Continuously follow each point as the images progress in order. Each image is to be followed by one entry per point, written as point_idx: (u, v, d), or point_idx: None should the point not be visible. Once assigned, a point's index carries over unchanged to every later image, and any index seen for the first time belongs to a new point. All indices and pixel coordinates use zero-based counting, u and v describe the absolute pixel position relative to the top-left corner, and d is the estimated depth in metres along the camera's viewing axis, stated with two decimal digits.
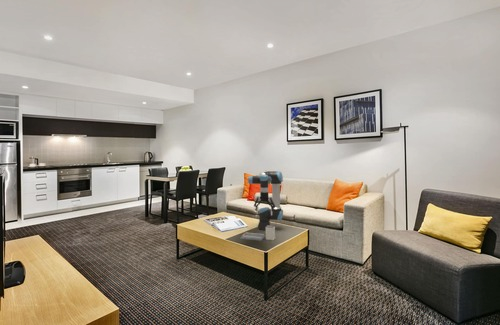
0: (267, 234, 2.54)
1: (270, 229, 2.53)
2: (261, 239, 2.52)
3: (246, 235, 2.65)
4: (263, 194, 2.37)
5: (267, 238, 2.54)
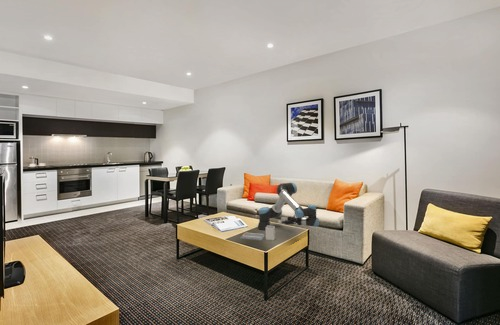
0: (267, 234, 2.54)
1: (270, 229, 2.53)
2: (261, 239, 2.52)
3: (246, 235, 2.65)
4: None
5: (267, 238, 2.54)
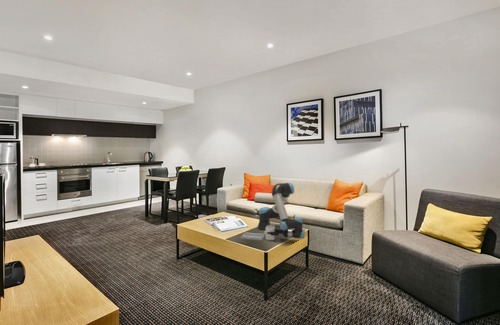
0: (267, 234, 2.54)
1: (270, 229, 2.53)
2: (261, 239, 2.52)
3: (246, 235, 2.65)
4: None
5: (267, 238, 2.54)
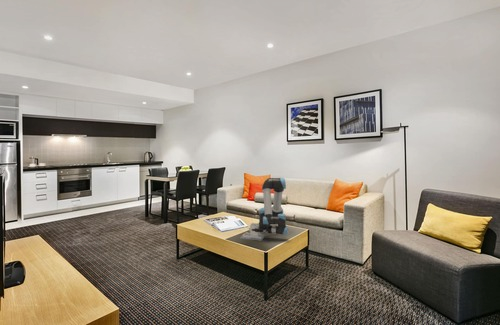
0: (251, 232, 2.59)
1: (254, 227, 2.57)
2: (261, 239, 2.52)
3: (246, 235, 2.65)
4: None
5: None
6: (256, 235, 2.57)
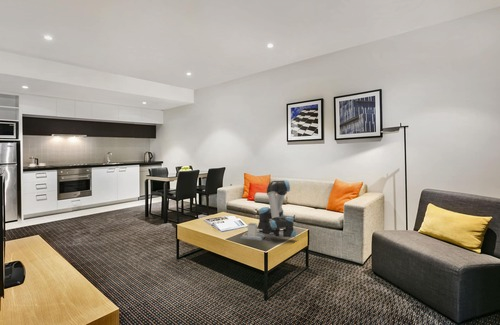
0: (249, 231, 2.59)
1: (252, 227, 2.58)
2: (261, 239, 2.52)
3: (246, 235, 2.65)
4: None
5: (249, 235, 2.59)
6: (254, 235, 2.58)
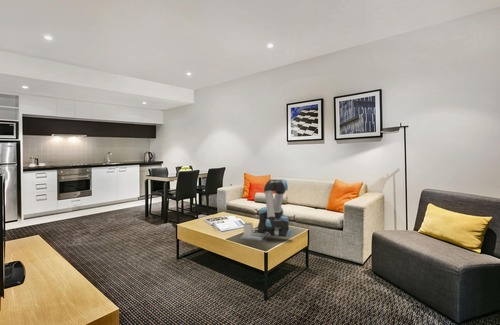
0: (245, 231, 2.61)
1: (248, 226, 2.60)
2: (261, 239, 2.52)
3: None
4: None
5: (245, 235, 2.61)
6: (249, 234, 2.59)
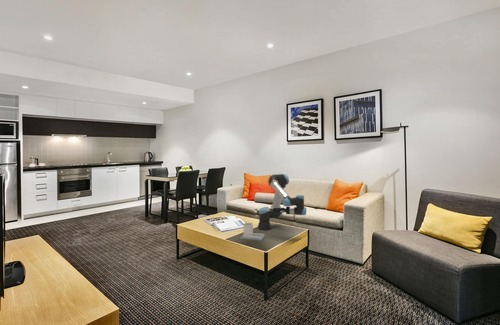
0: (245, 231, 2.61)
1: (248, 226, 2.60)
2: (261, 239, 2.52)
3: None
4: None
5: (245, 235, 2.61)
6: (249, 234, 2.59)
